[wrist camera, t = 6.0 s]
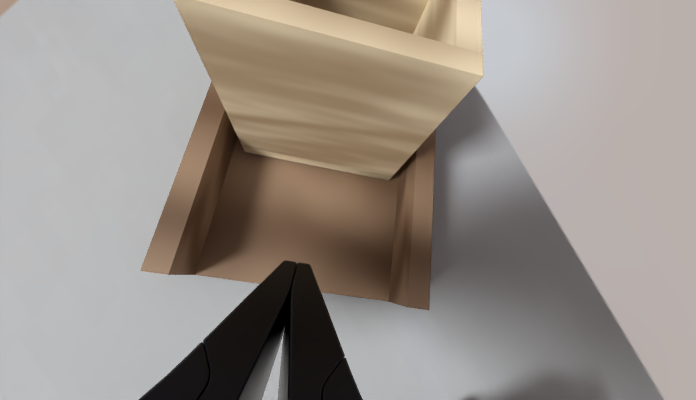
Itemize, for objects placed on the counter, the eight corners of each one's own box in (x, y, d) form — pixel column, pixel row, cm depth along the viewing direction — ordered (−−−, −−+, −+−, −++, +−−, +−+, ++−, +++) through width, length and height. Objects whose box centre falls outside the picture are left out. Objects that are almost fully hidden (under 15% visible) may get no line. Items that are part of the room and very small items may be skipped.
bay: (401, 302, 17) (450, 316, 11) (180, 271, 15) (108, 269, 10) (415, 88, 22) (453, 24, 17) (254, 48, 21) (235, -38, 15)
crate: (388, 180, 18) (483, 76, 9) (244, 151, 17) (170, -7, 7) (397, 89, 20) (478, -70, 11) (272, 59, 19) (242, -150, 10)
